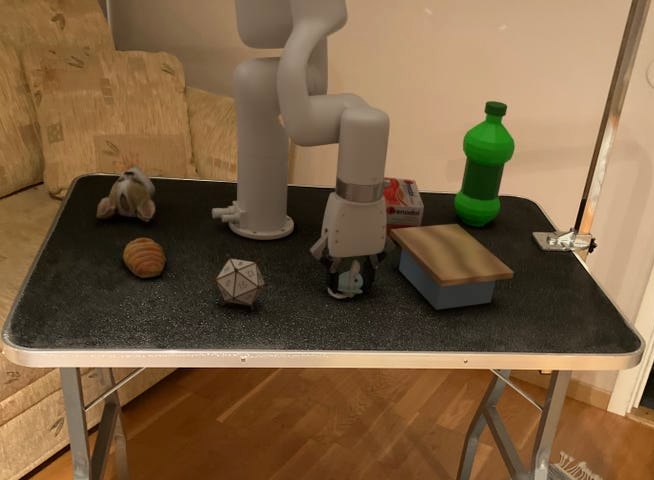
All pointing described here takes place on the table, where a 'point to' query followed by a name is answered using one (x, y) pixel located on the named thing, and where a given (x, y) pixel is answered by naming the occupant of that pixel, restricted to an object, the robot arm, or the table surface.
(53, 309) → the table surface
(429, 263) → the board
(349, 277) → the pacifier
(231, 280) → the game die
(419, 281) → the blue box
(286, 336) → the table surface
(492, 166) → the plastic bottle
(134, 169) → the ceramic sculpture
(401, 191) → the medicine box
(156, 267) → the pastry
